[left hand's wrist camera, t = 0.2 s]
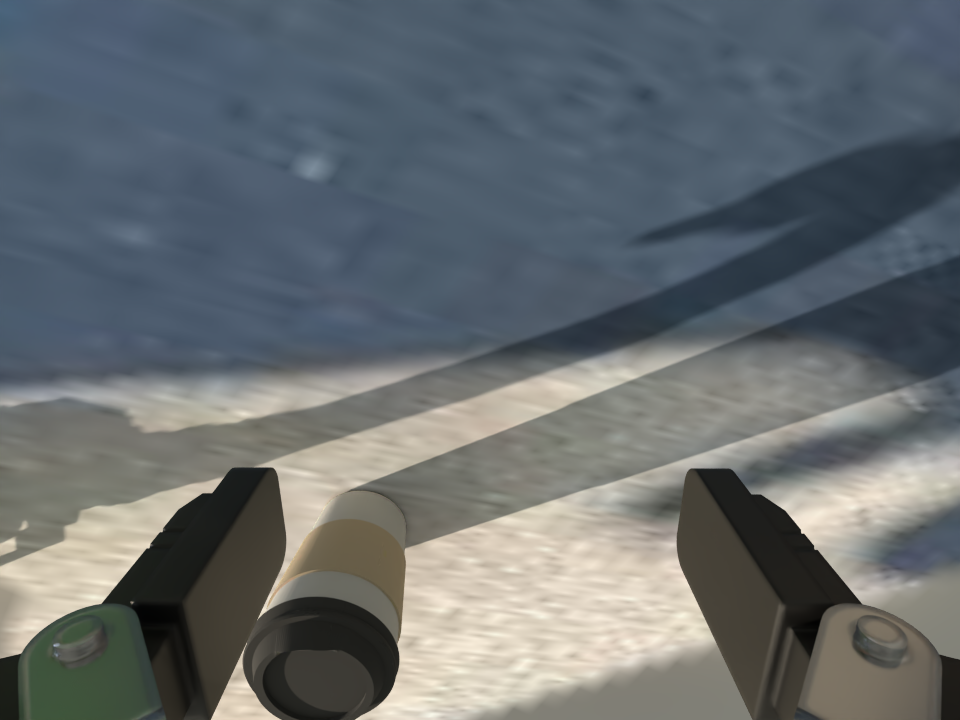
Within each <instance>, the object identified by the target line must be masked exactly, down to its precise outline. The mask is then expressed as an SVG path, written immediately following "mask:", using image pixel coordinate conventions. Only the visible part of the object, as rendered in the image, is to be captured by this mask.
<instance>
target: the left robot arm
mask: <svg viewBox="0 0 960 720" xmlns="http://www.w3.org/2000/svg"><path fill="white" fill-rule="evenodd" d="M285 551H286V531H285V524H284V517H283V509H282V502H281V495H280V488H279V481H278V476H277V473H276V471H275V469H274V468H232V469H231V470H230V471H229V472H228V473H227V475H226V476H225V477H224V479H223V480H222V481H221V483H220V484H219V485H218V487H217V488H216V489H215V490H214V492H213V493H203V494H201V495H200V496H198V497H197V498H195V499H194V500H192V501H191V502H189V503H188V504H186V505H185V506H183V507H182V508H180V509H179V510H178V511H177V512H176V513H175V515H174V516H173V517H172V518H171V519H170V521H169V522H168V523H167V524H166V526H165V527H164V528H163V532H160V533H159V534H158V535H157V537H156V538H155V539H154V540H153V541H152V543H151V544H150V548H149V549H146V550H145V551H144V552H143V554H142V555H141V556H140V557H139V559H138V560H137V561H136V562H135V564H134V565H133V566H132V567H131V568H130V570H129V571H128V572H127V573H126V575H125V576H124V577H123V578H122V579H121V581H120V582H119V583H118V584H117V586H116V587H115V588H114V589H113V590H112V592H111V593H110V594H109V595H108V597H107V598H106V599H105V600H104V601H103V603H102V604H99V605H93V606H89V607H85V608H83V609H80V610H77V611H74V612H72V613H70V614H67V615H65V616H63V617H62V618H60V619H58V620H56V621H54V622H53V623H51V624H50V625H48V626H47V627H46V628H44V629H43V630H42V631H40V632H39V633H38V634H37V635H36V636H35V637H34V638H33V639H32V640H31V641H30V642H29V643H28V645H27V646H26V647H25V649H24V650H23V652H22V654H18V655H14V656H10V657H6V658H1V659H0V720H211V718H212V716H213V714H214V712H215V709H216V707H217V705H218V703H219V701H220V699H221V696H222V694H223V692H224V690H225V688H226V686H227V684H228V681H229V679H230V677H231V675H232V673H233V671H234V669H235V666H236V664H237V662H238V660H239V658H240V656H241V653H242V651H243V649H244V647H245V645H246V643H247V641H248V638H249V636H250V634H251V632H252V630H253V628H254V625H255V623H256V621H257V619H258V617H259V615H260V613H261V610H262V608H263V606H264V604H265V602H266V600H267V598H268V595H269V593H270V591H271V589H272V587H273V585H274V582H275V580H276V578H277V576H278V574H279V572H280V570H281V567H282V564H283V561H284V557H285ZM677 552H678V558H679V562H680V566H681V568H682V571H683V573H684V575H685V577H686V579H687V581H688V583H689V586H690V588H691V590H692V592H693V594H694V596H695V598H696V600H697V603H698V605H699V607H700V609H701V611H702V613H703V615H704V617H705V620H706V622H707V624H708V626H709V628H710V630H711V632H712V634H713V637H714V639H715V641H716V643H717V645H718V647H719V649H720V651H721V654H722V656H723V658H724V660H725V662H726V664H727V666H728V668H729V671H730V673H731V675H732V677H733V679H734V681H735V683H736V685H737V688H738V690H739V692H740V694H741V696H742V698H743V700H744V702H745V705H746V707H747V709H748V711H749V713H750V715H751V717H752V719H753V720H960V660H959V659H954V658H950V657H946V656H943V655H939V654H938V652H937V650H936V649H935V647H934V646H933V645H932V643H931V642H930V641H929V640H928V639H927V638H926V637H925V636H924V635H923V634H922V633H921V632H920V631H918V630H917V629H916V628H914V627H913V626H912V625H910V624H909V623H907V622H906V621H904V620H902V619H900V618H898V617H897V616H895V615H893V614H890V613H888V612H886V611H883V610H880V609H877V608H875V607H871V606H867V605H862V603H861V602H860V601H859V600H858V599H857V597H856V596H855V595H854V594H853V592H852V591H851V590H850V589H849V588H848V586H847V585H846V584H845V583H844V582H843V580H842V579H841V578H840V577H839V575H838V574H837V573H836V572H835V571H834V569H833V568H832V567H831V566H830V565H829V563H828V562H827V561H826V560H825V559H824V557H823V556H822V555H821V554H820V552H819V551H818V550H815V549H814V545H813V544H812V543H811V542H810V540H809V539H808V538H807V537H806V535H805V534H801V529H800V528H799V527H798V526H797V525H796V523H795V522H794V521H793V520H792V518H791V517H790V516H789V515H788V514H787V512H786V511H785V510H783V509H782V508H780V507H779V506H777V505H776V504H774V503H773V502H771V501H770V500H768V499H767V498H765V497H764V496H762V495H751V493H750V492H749V491H748V489H747V488H746V487H745V486H744V484H743V483H742V482H741V480H740V479H739V478H738V476H737V475H736V474H735V473H734V471H733V470H731V469H690V470H689V471H688V472H687V474H686V477H685V483H684V490H683V497H682V504H681V511H680V518H679V525H678V532H677Z"/></svg>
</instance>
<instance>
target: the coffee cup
mask: <svg viewBox="0 0 960 720" xmlns="http://www.w3.org/2000/svg"><path fill="white" fill-rule="evenodd" d="M405 538H406V522H405V518H404V516H403V514H402V512H401V510H400V509H399V508H398V507H397V505H396V504H395V503H393V502H392V501H391V500H389V499H388V498H386V497H384V496H382V495H380V494H377V493H374V492H370V491H350V492H346V493H343V494H341V495H338V496H337V497H335V498H333V499H332V500H331V501H330V502H329V503H328V504H327V505H326V506H325V507H324V509H323V511H322V513H321V514H320V516H319V518H318V520H317V521H316V523H315V525H314V527H313V529H312V530H311V532H310V533H309V534H308V535H307V537H306V538H305V539H304V541H303V543H302V544H301V546H300V548H299V550H298V551H297V553H296V555H295V557H294V558H293V560H292V562H291V563H290V565H289V567H288V569H287V570H286V572H285V574H284V576H283V577H282V579H281V581H280V583H279V584H278V586H277V588H276V589H275V591H274V593H273V595H272V596H271V598H270V600H269V603H268V606H267V610H266V612H265V613H264V614H263V615H262V616H261V617H260V618H259V619H258V620H257V621H256V623H255V625H254V628H253V630H252V632H251V634H250V636H249V638H248V641H247V645H246V648H245V650H244V654H243V670H244V674H245V677H246V679H247V681H248V683H249V685H250V687H251V688H252V690H253V691H254V692H255V694H256V695H257V698H258V699H259V701H260V702H261V704H262V705H263V706H264V707H265V708H266V709H267V710H268V711H269V712H270V713H272V714H273V715H274V716H276V717H278V718H279V719H281V720H355V719H357V718H358V717H359V716H361V715H363V714H365V713H367V712H369V711H371V710H372V709H374V708H375V707H377V706H378V705H379V704H380V703H381V702H382V701H384V699H385V698H386V697H387V696H388V695H389V693H390V691H391V690H392V688H393V685H394V682H395V678H396V675H397V672H398V668H399V651H398V647H397V643H398V641H399V638H400V634H401V624H402V610H403V596H404V582H405V568H406V561H405V555H404V551H405Z"/></svg>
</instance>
